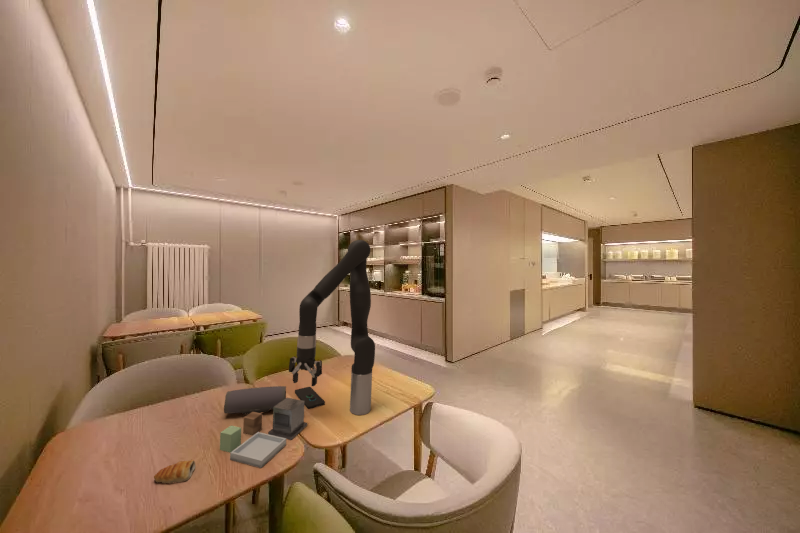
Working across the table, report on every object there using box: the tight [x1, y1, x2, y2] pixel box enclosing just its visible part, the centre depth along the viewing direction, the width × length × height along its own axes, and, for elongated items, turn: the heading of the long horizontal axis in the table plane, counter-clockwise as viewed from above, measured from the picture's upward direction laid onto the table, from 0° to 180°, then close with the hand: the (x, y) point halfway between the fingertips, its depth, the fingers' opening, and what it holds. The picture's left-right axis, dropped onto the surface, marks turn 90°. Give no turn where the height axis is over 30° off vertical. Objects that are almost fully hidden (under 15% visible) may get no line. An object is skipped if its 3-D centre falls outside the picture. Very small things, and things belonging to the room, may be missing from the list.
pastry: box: [153, 459, 196, 484], centre depth 84 cm, size 9×7×4 cm
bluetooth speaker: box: [223, 385, 287, 415], centre depth 121 cm, size 23×9×10 cm, turn 108°
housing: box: [267, 397, 308, 441], centre depth 109 cm, size 10×10×10 cm
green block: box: [219, 425, 242, 453], centre depth 98 cm, size 4×4×6 cm
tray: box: [229, 431, 287, 469], centre depth 96 cm, size 12×12×2 cm
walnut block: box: [242, 412, 263, 437], centre depth 107 cm, size 4×4×6 cm
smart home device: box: [294, 386, 326, 410], centre depth 135 cm, size 8×2×20 cm
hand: (304, 384), depth 118 cm, fingers open, 8 cm apart
